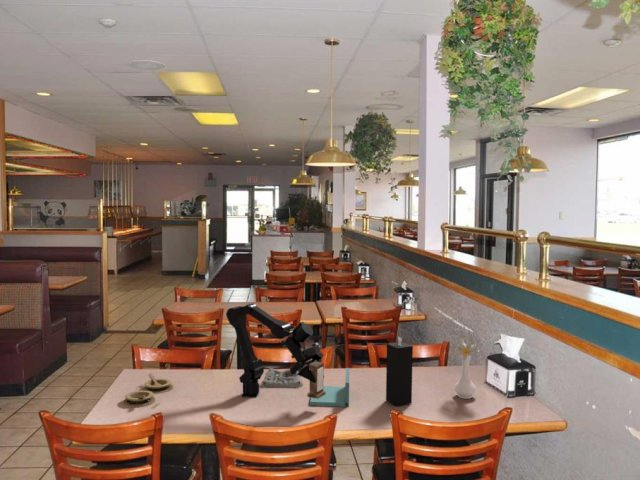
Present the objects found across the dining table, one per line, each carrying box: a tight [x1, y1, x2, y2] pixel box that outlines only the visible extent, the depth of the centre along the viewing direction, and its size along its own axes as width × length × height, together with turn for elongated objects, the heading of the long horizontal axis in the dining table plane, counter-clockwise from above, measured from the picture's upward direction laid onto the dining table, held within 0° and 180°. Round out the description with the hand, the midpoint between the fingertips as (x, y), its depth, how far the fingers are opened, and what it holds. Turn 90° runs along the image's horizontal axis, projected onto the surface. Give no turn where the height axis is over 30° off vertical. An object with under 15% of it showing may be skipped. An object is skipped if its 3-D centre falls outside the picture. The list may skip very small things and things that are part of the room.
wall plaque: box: [261, 367, 304, 389], centre depth 260 cm, size 24×19×4 cm
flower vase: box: [449, 338, 483, 400], centre depth 239 cm, size 13×18×25 cm
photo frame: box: [306, 361, 325, 399], centre depth 222 cm, size 5×6×13 cm
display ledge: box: [309, 367, 350, 408], centre depth 236 cm, size 16×20×10 cm
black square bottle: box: [385, 335, 414, 407], centre depth 231 cm, size 8×8×28 cm
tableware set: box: [121, 373, 174, 410], centre depth 238 cm, size 30×20×6 cm, turn 169°
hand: (319, 380), depth 221 cm, fingers closed on photo frame, 6 cm apart
